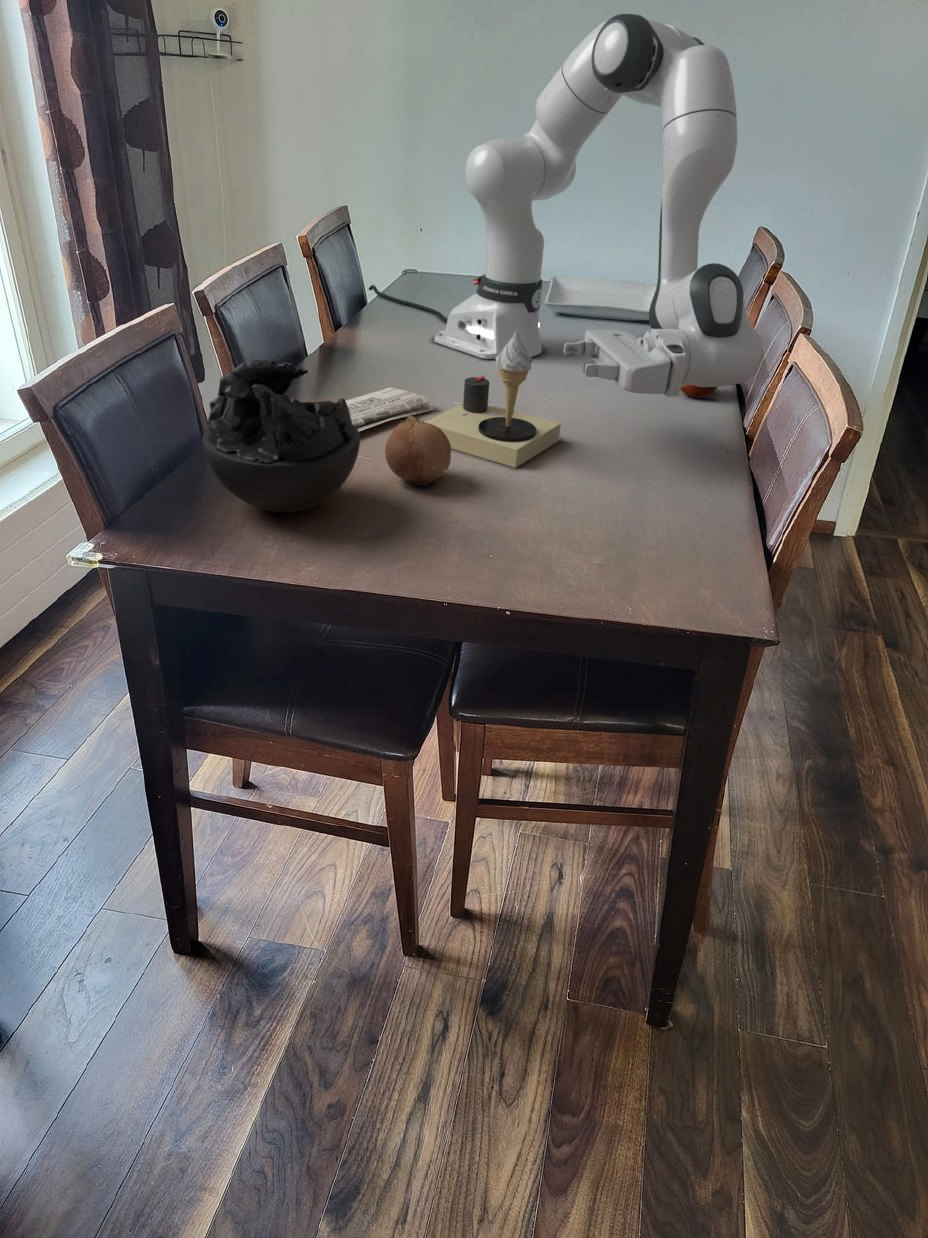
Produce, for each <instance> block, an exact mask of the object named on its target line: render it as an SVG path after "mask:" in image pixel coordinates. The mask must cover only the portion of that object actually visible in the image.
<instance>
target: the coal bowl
mask: <svg viewBox="0 0 928 1238" xmlns="http://www.w3.org/2000/svg"><path fill="white" fill-rule="evenodd" d="M306 374H309V370H308V369H305V368H302V367H298V366H295V365H294V364H293V363H291V362H288V361H286V362H282V363H276V361H275V359H272V358H271V359H262V360H261V359H254V360H251V362H250V364H249V365H247V364H246V363H245V362H244V361H243V362H241V363H240V364H239V365H237V366H236V367H234V368H233V370H232V371H228V372H227V373H225V374H224V375H223V376H221V377H220V379H219V386H218V391H217V397H216V398H213V400H211V401H210V402H209V408H210V411H209V415H208V419H207V424H206V425H207V426H206V429H205V430H204V431H203V434H202V439H201V440H202V446H203V451H204V454H205V457H206V459H207V462H208V464H209V466H210V468H211V469H212V471H213V473H214V475H215V476H216V478H217V479H218V480H219V482H220V483H221V484H222V485H223V486H224V487H225V488H226V489H227V490H228V491H229V492H230V493H231V494H232V495H234V496H235V497H236V498H237V499H239V500H241V501H242V502H244V503H246V504H248V505H250V506H252V507H255V508H257V509H260V510H264V511H269V512H275V513H294V512H300V511H304V510H308V509H310V508H313V507H315V506H318V505H319V504H321V503H323V502H325V501H326V500H328V499H329V498H331V497H332V496H333V495H334V494H335V493H337V492H338V491H339V489H341V487H342V486H344V484H345V482H346V481H347V480H348V479H349V476H350V475H351V474H352V471H353V469H354V467H355V465H356V462H357V459H358V455H359V450H360V445H361V435H360V431H358V430H357V428H356V427H355V426H354V425H353V424H352V421H351V416H350V412H349V409H348V406H347V403H346V401H345V400H346V399H345V398H344V397H342V398H339V399H338V400H337V401H336V402H334V401H331V400H323V401H322V400H321V401H300V400H298V399H297V398H290V396H288V395H285V394H286V393H287V392H288V390H289V389H290V388H291V386H292V384H293V382H294V380H295V379H300V378H301V377H302V376H304V375H306Z"/></svg>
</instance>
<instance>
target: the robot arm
mask: <svg viewBox="0 0 928 1238" xmlns="http://www.w3.org/2000/svg"><path fill="white" fill-rule="evenodd" d="M735 93H736V92H735V87H734V81H733V75H732V72H731V67H730V63H729V60H728V58H727V56H726V54H725V53H724V52H723V51H722V50H721V49H719V48H718V47H716V46H713V45H709V44H705V43H704V42H703V41H701V40H700V39H699V38H697V37H695V36H691V35H689V34H688V33H686V32H684V31H683V30H681V29H679V28H677V27H675V26H673V25H670V24H666V23H662V22H659V21H655V20H651V19H648V18H645V17H644V16H643V15H640V14H634V13H620V14H616V15H614V16H612V17H611V18H609V19H605V20H604V21H602V22H600V23H599V24H598V25H597V26H596V27H595V28H594V29H593V30H591V31H590V32H589V33H588V34H587V35H586V36H585V37H584V38H583V39H582V40H581V42H579V44H578V45H576V47H575V48H574V49H573V50H572V51H571V53H570V54H569V55H568V56H567V57H566V59H565V60H564V62H563V63H562V64H561V66H560V67H559V68H558V70H557V71H556V72H555V74H554V75H553V76H552V78H551V79H550V80H549V82H548V83H547V84H546V86H545V87H544V89H543V90H542V91H541V93H540V94H539V95H538V97H537V99H536V102H535V110H534V111H535V116H536V119H535V121H534V123H533V125H532V127H531V129H530V130H528V131H527V132H526V133H525V134H523V135H522V136H517V137H501V138H493V139H491V140H489V141H487V142H486V141H485V142H484V143H482V144H480V145H477V146H476V147H474V148H473V149H472V150H471V152H470V153H469V155H468V156H467V159H466V162H465V168H464V178H465V179H464V180H465V183H466V187H467V188H468V191H469V193H470V194H471V195H472V197H473V198H474V199H475V200H476V201H477V203H478V204H479V207H480V209H481V212H482V215H483V219H484V225H485V231H486V232H485V233H486V250H485V251H486V256H485V272H484V274H482V275H480V276H478V277H477V278H474V279H472V281H473V283H472V286H477V288H476V292H475V293H474V294H472V295H470V296H469V297H468V298H466V299H464V300H463V301H462V302H460V303H459V304H457V305H456V306H454V307H453V308H452V309H451V310H450V312H449V314H448V317H447V318H445V316H444V315H443V314H442V313H441V312H440V311H438V310H436V309H434V308H431V307H427V306H424V305H421V304H418V303H416V302H412V301H407V300H403V299H400V298H397V297H394V296H392V295H391V296H390V295H388V294H386V293H383V292H381V291H379V290H378V288H377V287H376V285H374V284H371V285H370V286H369V287H368V291H374V293H375V294H376V295H377V296H379V297H381V298H382V299H383V298H384V299H385V300H389V301H392V302H394V303H398V304H400V305H405V306H407V307H408V306H409V307H413V308H415V309H419V310H422V311H426V312H428V313H431V314H434V315H436V316H437V317H439V318H440V320H441V321H442V322H443V323H444V324H446V325H445V329H443V330H440V331H439V332H437V333H436V334H435V335H434V343H437V344H440V345H442V346H444V347H448V348H450V349H454V350H457V351H460V352H463V353H465V354H468V355H472V356H475V357H476V358H480V359H483V360H496V357H497V356H498V355H499V353H500V352H501V351H502V350H503V349H504V348H505V346H506V345H507V344H508V342H509V341H510V340H511V338H512V337H513V335H514V334H515V332H516V330H517V331H518V334H519V336H520V339H521V341H522V343H523V344H524V346H525V348H526V350H527V353H528V354H529V355H530V357H531V358H532V357H536V356H538V355H540V354H541V353H542V351H543V349H542V345H541V337H540V322H539V319H540V318H539V314H540V307H541V302H542V294H543V279H542V268H543V259H544V250H545V249H544V248H545V239H544V236H543V233H542V232H541V231H540V229H538V228H537V227H536V224H535V220H534V217H533V208H532V207H533V206H532V205H533V204H532V203H533V202H535V201H543V200H544V201H545V200H548V199H551V198H554V197H555V196H557V195H559V194H561V193H563V192H565V191H566V190H568V189H569V187H570V186H571V185H572V183H573V181H574V178H575V176H576V170H577V161H576V159H577V157H578V155H579V153H580V151H581V150H582V148H583V146H584V144H585V143H586V142H587V140H588V139H589V138H590V136H591V135H592V134H593V133H594V131H596V129H597V128H598V127H599V125H600V124H601V123H602V122H603V120H604V119H605V118H606V117H607V115H608V114H610V112H611V111H612V110H613V108H614V107H615V106H616V105H617V103H618V102H619V101H620V99H621V98H622V97H623V96H624V97H625V98H627V99H630V100H632V101H634V102H637V103H639V104H643V105H644V104H645V105H650V106H654V107H659V108H661V114H662V116H661V117H662V118H661V119H662V120H661V122H662V123H661V124H662V154H663V155H662V156H663V157H662V161H663V162H662V164H663V165H662V168H663V169H662V188H661V190H662V191H661V201H660V202H661V203H660V213H659V232H658V233H659V234H658V269H657V283H656V285H657V287H656V291H655V294H654V297H653V299H652V302H651V305H650V309H649V320H648V321H649V326H650V329H648V330H646V332H645V334H644V335H643V336H641V337H640V336H639V337H636V336H635V335H634V334H633V333H632V332H629V331H625V330H618V329H597V328H596V329H594V328H593V329H589V330H586V331H585V334H584V339H581V340H579V341H576V342H566V343H564V345H563V354H564V355H565V356H566V357H567V358H577V357H578V356H587V357H589V358H590V359H591V360H592V361H585V362H583V364H582V373H583V374H584V375H585V376H586V377H587V378H600V379H603V380H604V379H605V380H609V381H614V382H615V383H616V384H617V385H618V386H619V387H620V388H621V389H622V390H623V391H626V392H630V393H634V394H648V395H649V394H650V395H661V394H663V395H664V396H666V397H670V398H671V397H674V398H675V397H679V396H680V392H681V387H683V386H686V385H695V386H698V387H717V388H718V387H728V386H735V385H738V384H742V383H744V382H746V381H748V380H749V379H750V378H752V376H753V375H754V374H755V372H756V371H757V369H758V367H759V366H760V363H761V360H762V356H763V341H762V337H761V336H760V334H759V333H758V332H757V331H756V329H755V328H754V327H753V325H752V324H751V323H752V322H751V321H750V319H749V316H748V313H747V310H746V306H745V302H744V296H745V295H744V293H745V292H744V287H743V284H742V282H741V279H740V278H739V276H738V275H737V274H736V272H735V271H734V270H733V269H731V268H730V267H728V266H727V265H724V264H721V263H718V262H717V263H716V262H714V263H713V262H711V263H707V264H704V265H702V266H701V267H699V268H698V265H699V264H698V263H699V261H698V260H699V237H700V236H699V235H700V229H701V225H702V221H703V218H704V215H705V213H706V211H707V209H708V207H709V205H710V203H711V201H712V200H713V198H714V197H715V195H716V194H717V192H718V191H719V189H720V188H721V187H722V185H723V184H724V182H725V181H726V179H727V178H728V177H729V175H730V173H731V171H732V170H733V167H734V164H735V159H736V155H737V154H736V153H737V146H738V117H737V104H736V102H737V101H736V94H735Z"/></svg>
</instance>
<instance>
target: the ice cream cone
mask: <svg viewBox="0 0 928 1238" xmlns="http://www.w3.org/2000/svg"><path fill="white" fill-rule="evenodd" d="M495 362H496V363H495V364H496V367H497V368H498V373H499V378H500V379H501V380H502V381H503V383H504V385H505V393H504V394H505V397H504V398H505V409H506V426H507V427H510V425H511V420H512V415H513V411H515V405H516V402H517V396H518V390H519V387H520V386H521V384H522V383H523V382H524V381H526V380H527V377H528V376H527V375H528V374H529V371H531V370H532V365H531V364H532V363H533V362H534V360H533V358H532V357H530V355H529V354H528V353H527V350H526V348H525V346H524V344H523V343H522V341H521V339H520V336H519V334H518V331H517V330H516V332H515V334H514V335H513V337H512V338H511V340H510V341H509V342H508V344H507V345H506V346H505V348H504V349H503V350H502V351H501V352H500V353H499V355H498V356H497V357H496V359H495Z"/></svg>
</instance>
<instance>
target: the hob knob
mask: <svg viewBox="0 0 928 1238" xmlns="http://www.w3.org/2000/svg"><path fill="white" fill-rule="evenodd" d="M463 386H464V387H463V403H462V404H463V409H464V410H466V411H468V412H473V413H481V412H485V411H487V409H488V404H489V403H488V402H489V395H490V393H489V392H490V380H488V379H487V378H485V376H483V375H481V376H479V377H478V376H472V377H471V376H470V377H466V378H465V379H464V385H463Z"/></svg>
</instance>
